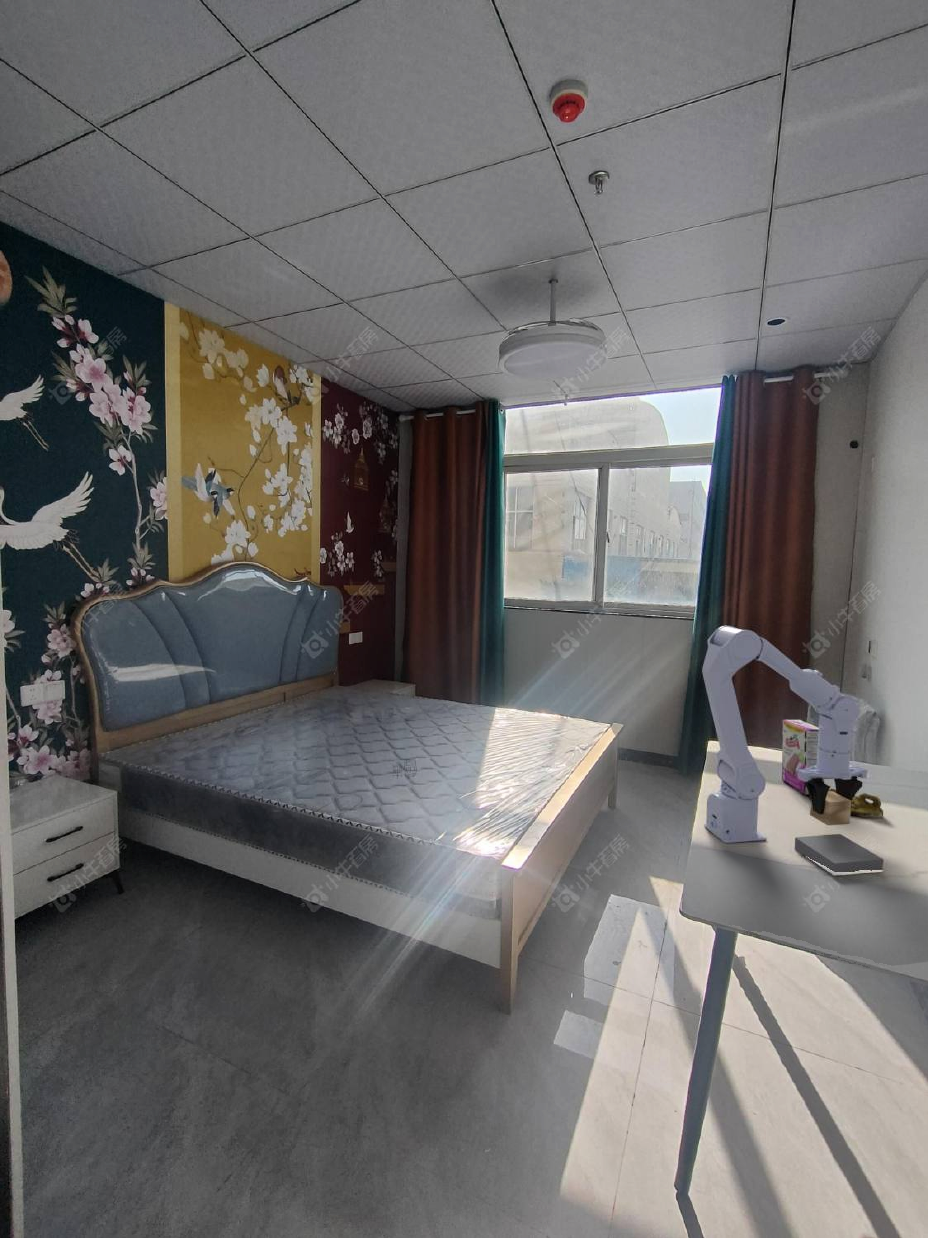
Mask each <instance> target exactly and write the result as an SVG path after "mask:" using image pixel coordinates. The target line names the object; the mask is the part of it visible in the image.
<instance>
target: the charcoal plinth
mask: <svg viewBox="0 0 928 1238" xmlns="http://www.w3.org/2000/svg"><path fill="white" fill-rule="evenodd" d="M794 851H796V852H797V853H799V852H800V853H799V854H801V855H802V854H803V855H802V856H803V857H805V856H807V857H809V858H810V859H812V860H814V861H816V862H818V863H820V864H821V865H824V866H826V867H827V868H829V869H830V870H832V871H834V872H855V871H859V870H871V871H872V870H884V859H883V858H882V857H880V856H879V855H877V854H875V853H873V852H872V851H870V850H868V849H867V848H866V847H863V846H861V845H860V844H859V843H856V842H855V841H853V840H851V839H850V838H848V837H846V836H844V835H843V834H841V833H836V834H834V833H833V834H823V835H822V834H821V835H810V836H807V835H806V836H796V837H795V838H794Z"/></svg>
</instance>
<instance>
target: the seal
mask: <svg viewBox="0 0 928 1238" xmlns="http://www.w3.org/2000/svg"><path fill="white" fill-rule="evenodd" d="M829 791H833V792H835V793H836V788H835V789H834V788H830V789H829ZM868 800H870V801H872V802H870V801H868ZM881 806H882V801H881V799H880V798H879V797H878V796H877V795H871V794H868V793H861V794H859V796H856V795H855V796H854V798H853V799H852V802H851V813H850V816H851V815H852V816H856V817H862V818H871V819H872V818H873V819H875V818H883V816H884V810H883V808H881Z"/></svg>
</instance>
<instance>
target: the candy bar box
mask: <svg viewBox="0 0 928 1238" xmlns="http://www.w3.org/2000/svg"><path fill="white" fill-rule="evenodd" d="M781 724H782V726H781V727H782V729H781V731H782V737H781V738H782V740H781V741H782V742H781V745H782V747H781V748H782V749H781V751H782V752H781V753H782V756H781V758H782V759H781V762H782V763H781V780H782V781H783V782H784V783H786V784H788V785H789V786H791V787H792V788H794V789H796V790H797V791H798V792H800V793H802V794H804V795H809V793H808V790H807V788H806V786H805V784H804V782H803V781H802V780H800V779H798V778H797V777H798V770H799V769H806V768H809V767H813V766H816V765H817V750H818V734H819V726H816V725H813V724H811V723H808V722H806V721H804V720H802V719H782V723H781ZM823 781H824V782H825V779H823ZM809 796H810V795H809Z"/></svg>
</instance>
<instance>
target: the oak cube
mask: <svg viewBox="0 0 928 1238" xmlns="http://www.w3.org/2000/svg"><path fill="white" fill-rule="evenodd" d="M809 808H810V809H809V810H810V811H809V815H810V816H811V817H812V818H814V819H816V820H818V821H819V822H821V823H823V824H825V825H826V826H829V827H830V826H840V825H850V824H851V814H850V813H851V800H849V799H847V798H845V797H843V796H841V795H839V794H837V793H835V792H833V791H828V793H827V796H826V800H825V809H824V813H823V814H821V815H820V814H818V813H816V812H815V811H813V807H812V802H811V801H810V807H809Z"/></svg>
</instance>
